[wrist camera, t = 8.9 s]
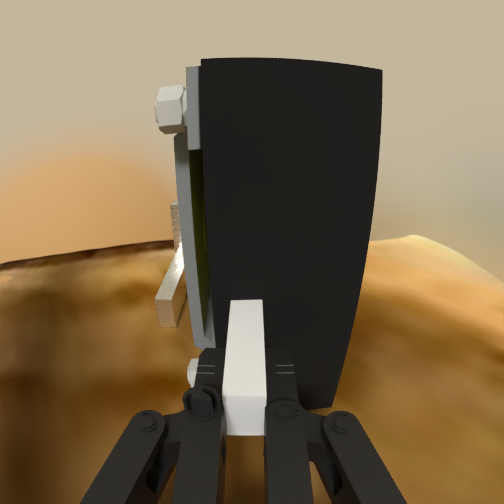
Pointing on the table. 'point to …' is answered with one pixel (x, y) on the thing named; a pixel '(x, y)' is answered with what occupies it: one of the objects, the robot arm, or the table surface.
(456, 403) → the table surface
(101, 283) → the table surface
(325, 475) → the robot arm
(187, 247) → the electrical component
